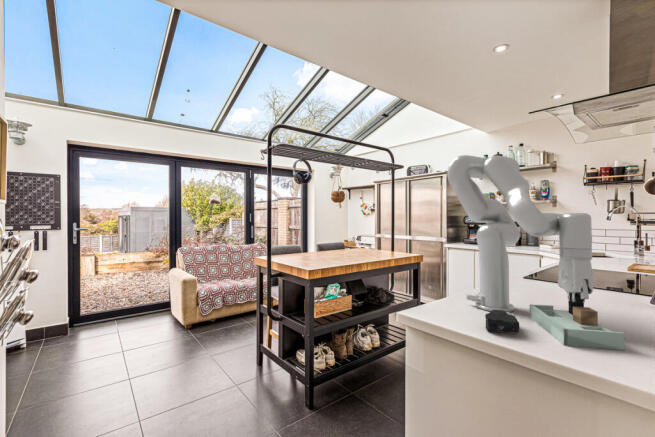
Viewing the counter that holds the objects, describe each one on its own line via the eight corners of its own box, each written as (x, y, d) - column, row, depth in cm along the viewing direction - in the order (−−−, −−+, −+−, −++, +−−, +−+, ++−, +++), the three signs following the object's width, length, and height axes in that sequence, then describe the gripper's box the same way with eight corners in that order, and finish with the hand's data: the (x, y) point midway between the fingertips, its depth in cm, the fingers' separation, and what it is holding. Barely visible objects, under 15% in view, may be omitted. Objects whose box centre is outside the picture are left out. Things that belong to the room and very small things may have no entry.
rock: (480, 322, 95) (479, 304, 95) (511, 324, 92) (511, 306, 92) (488, 335, 85) (487, 315, 85) (523, 338, 83) (523, 317, 82)
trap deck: (563, 345, 77) (563, 329, 77) (529, 317, 98) (529, 304, 98) (624, 350, 74) (624, 333, 74) (575, 320, 95) (575, 306, 95)
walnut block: (580, 324, 83) (580, 310, 83) (572, 320, 87) (572, 306, 87) (597, 325, 82) (597, 311, 82) (588, 321, 86) (588, 307, 86)
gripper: (549, 250, 97) (550, 306, 97) (574, 257, 82) (575, 322, 82) (576, 251, 95) (576, 307, 95) (606, 257, 80) (607, 324, 80)
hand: (576, 314), depth 89 cm, fingers closed
